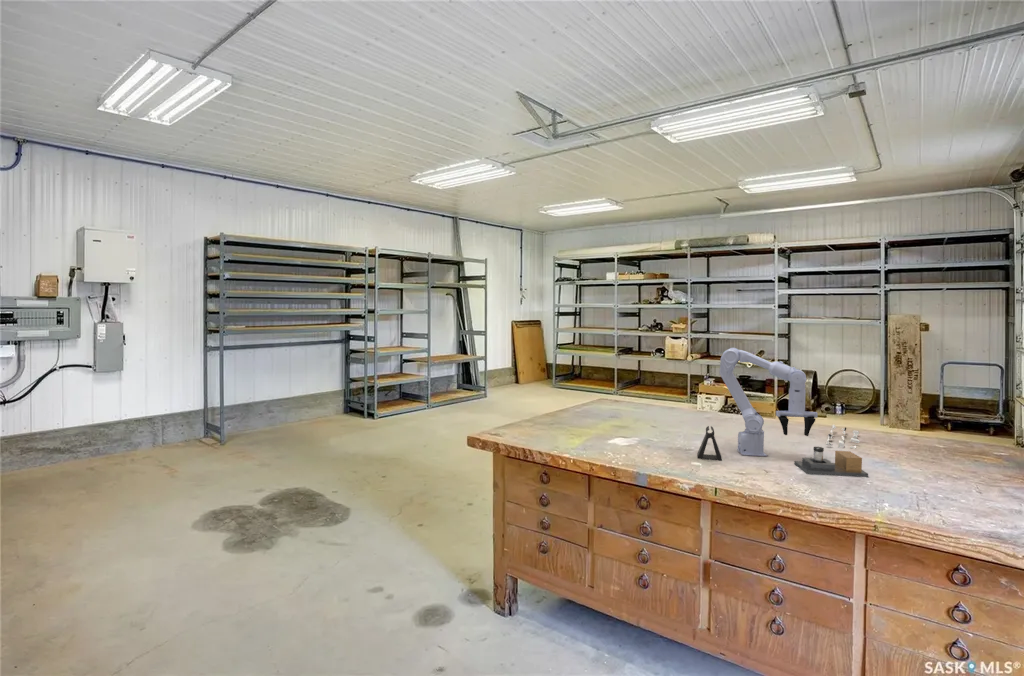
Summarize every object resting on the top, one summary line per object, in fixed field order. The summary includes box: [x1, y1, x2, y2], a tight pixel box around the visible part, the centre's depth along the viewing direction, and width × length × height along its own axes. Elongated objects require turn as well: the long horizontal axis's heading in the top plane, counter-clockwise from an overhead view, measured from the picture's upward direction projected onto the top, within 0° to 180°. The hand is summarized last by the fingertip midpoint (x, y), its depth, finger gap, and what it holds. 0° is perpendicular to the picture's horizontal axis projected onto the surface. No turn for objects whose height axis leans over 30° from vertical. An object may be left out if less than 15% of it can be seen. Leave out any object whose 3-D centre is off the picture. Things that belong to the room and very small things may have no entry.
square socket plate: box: [793, 450, 869, 478], centre depth 191 cm, size 20×12×6 cm, turn 81°
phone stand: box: [696, 425, 723, 461], centre depth 207 cm, size 9×6×12 cm, turn 71°
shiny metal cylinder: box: [813, 446, 825, 463], centre depth 191 cm, size 3×3×7 cm
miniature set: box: [824, 424, 861, 449], centre depth 234 cm, size 6×35×12 cm
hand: (795, 435), depth 206 cm, fingers open, 7 cm apart
